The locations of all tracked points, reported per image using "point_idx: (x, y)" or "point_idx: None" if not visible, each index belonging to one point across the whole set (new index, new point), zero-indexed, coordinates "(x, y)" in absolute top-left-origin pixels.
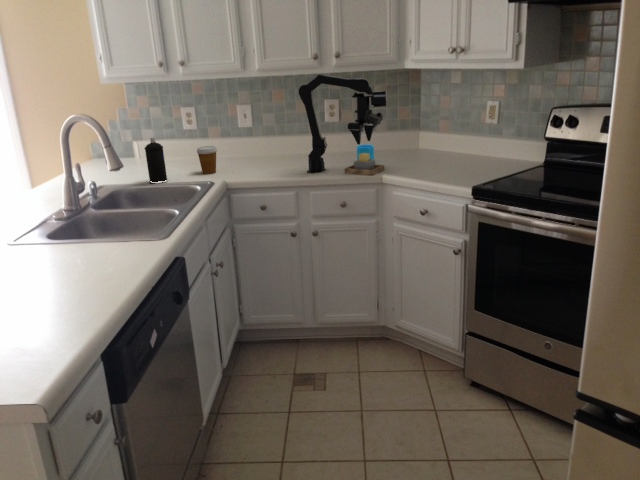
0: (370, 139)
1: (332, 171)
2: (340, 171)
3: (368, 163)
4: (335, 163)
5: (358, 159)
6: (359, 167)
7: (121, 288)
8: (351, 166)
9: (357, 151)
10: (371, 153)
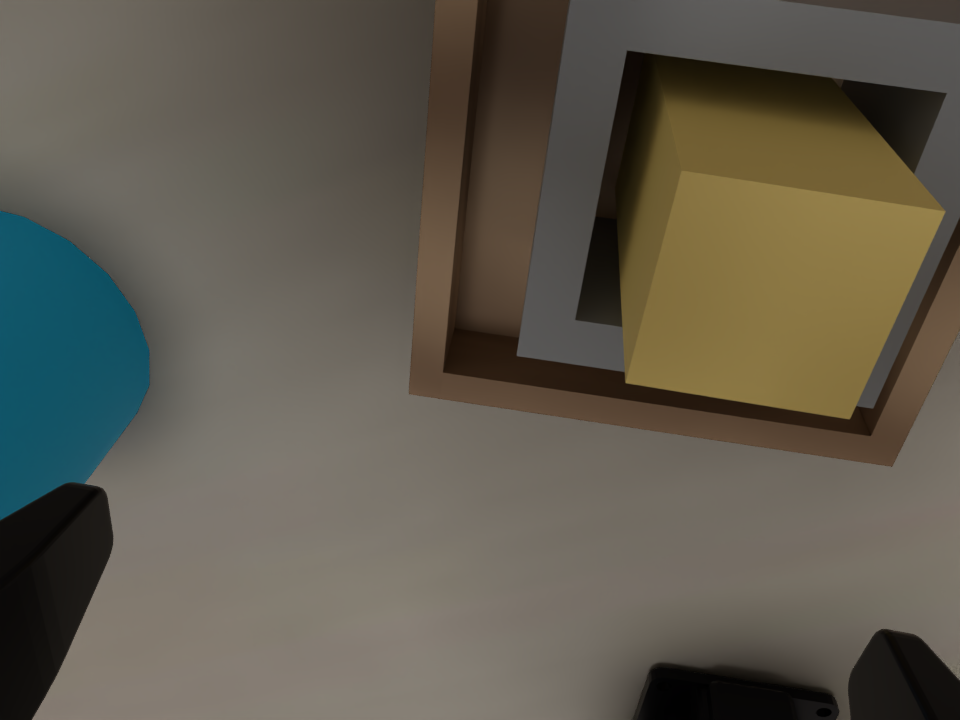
0: (27, 506)
1: (696, 588)
2: (683, 502)
3: None
4: (238, 657)
5: (104, 455)
6: None
7: None
8: (691, 408)
9: None
10: None
